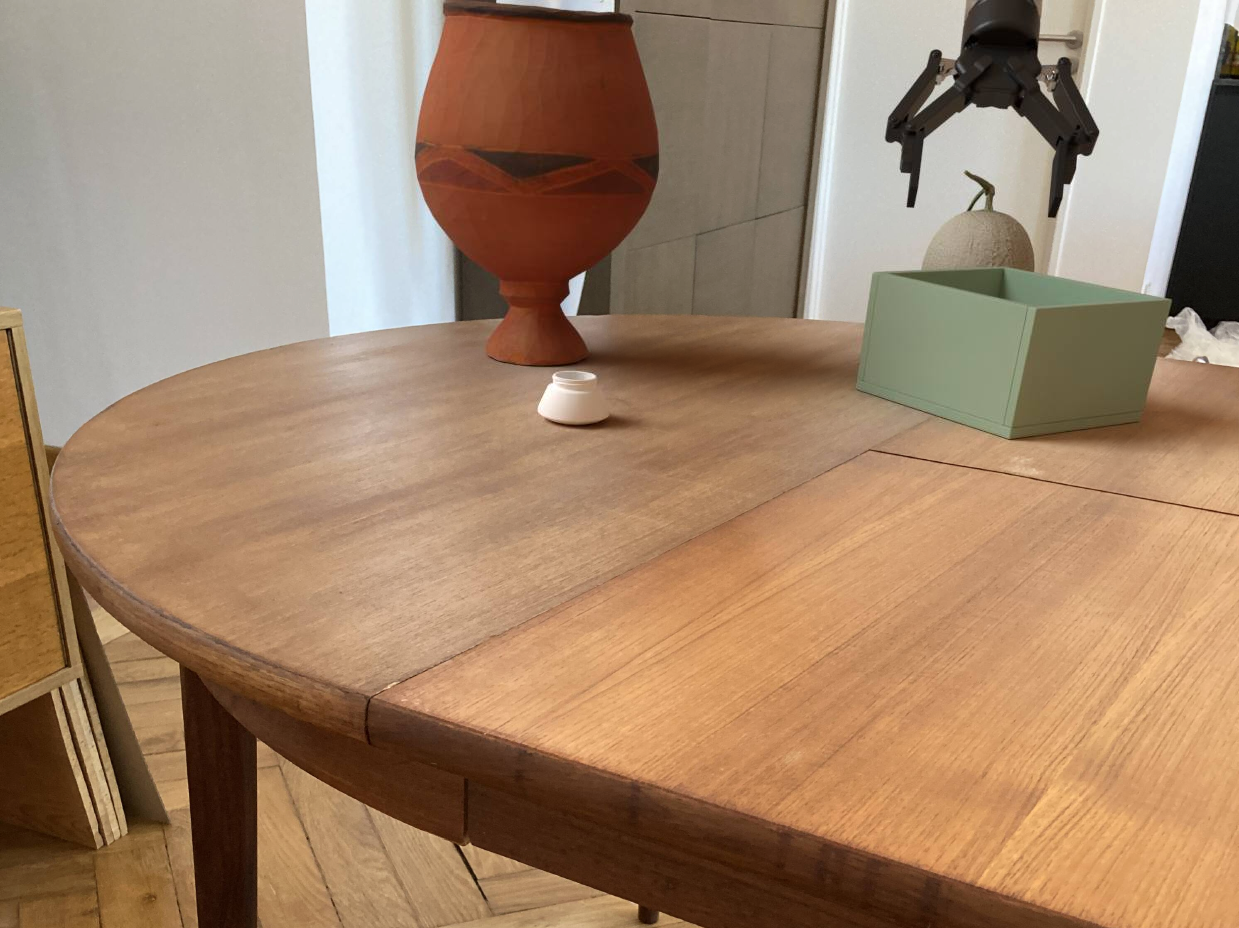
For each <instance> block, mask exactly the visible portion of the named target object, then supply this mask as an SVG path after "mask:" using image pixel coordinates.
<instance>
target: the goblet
mask: <svg viewBox="0 0 1239 928" xmlns="http://www.w3.org/2000/svg"><path fill="white" fill-rule="evenodd" d="M442 14H443V15H444V17H445V19H444V22H443V26H442V30H441V35H440V39H439V42H438V43H439V44H438V47H437V50H436V54H435V56H434V59H433V62H432V64H431V68H430V71H429V73H428V78H427V80H426V84H425V87H424V92H423V93H422V99H421V104H420V109H419V115H418V119H417V126H416V134H415V135H416V136H415V143H414V144H415V145H414V164H415V172H416V179H417V183H418V186H419V188H420V191H421V194H422V197H423V200H424V203H425V204H426V206H427V208H428V210H429V212H430V214H431V216H432V217H433V219H434V220H435V222H436V223H437V224H438V226H439V227H440V228H441V230H442V231H443V232H444V234H445V235H446V236H447V237H448V239H449V240H450V241H451V242H452V243H453V244H454V245H455V247H457V249H459V251H461V253H462V254H464V256H465V257H467V258H468V259H469V260H471V261H472V262H474V263H475V264H476V265H478V266H480V267H481V268H482V269H484V270H485V271H487V272H488V273H490V274H492V275H493V276H495V277H496V278H498V280H499V292H498V293H499V295H500V296H501V297H502V298H503V299H504V300H505V301H506V303H507V304H508V306H509V308H508V311H507V313H506V315H505V317H504V318H503V319H502V321H501V322H500V323H499V324H498V326H497V327H496V328H495V329H494V331H493V332H492V334H491V335H490V337H489V338H488V340H487V342H486V344H485V349H484V350H485V351H484V352H485V354H486V355H487V356H488V357H490V358H492V359H494V360H497V361H500V362H504V363H509V364H514V365H520V366H540V367H544V366H545V367H546V366H547V367H548V366H562V365H563V366H564V365H569V364H575V363H578V362H580V361H582V360H585V359H586V358H588V356H589V350H588V347H587V344H586V342H585V340H584V339H583V337H582V336H581V334H580V333H579V331H578V330H577V328H576V327H575V326H574V325H573V323H572V322H571V321H570V320H569V319H568V317H567V316H566V314H565V312H564V310H563V308H562V306H561V304H562V303H563V302H564V301H565V300H566V299H567V298H568V297H569V296H570V295H571V292H570V281H571V280H573V279H574V278H576V277H578V276H579V275H581V274H583V273H585V272H586V271H589V270H590V269H592V268H593V267H595V266H596V265H597V264H599V263H600V262H602V260H604V259H605V258H606V257H607V256H608V255H610V254H611V253H613V251H615V249H617V248H618V246H619V245H620V244H621V243H622V242H623V241H624V240H625V239H626V238H627V237H628V236H629V235H630V233H631V232H632V231H633V230H634V229H635V227H636V226H637V225H638V223H639V222H640V220H641V219H642V218H643V216H644V215H645V213H646V211H647V209H648V207H649V205H650V203H651V200H652V198H653V194H654V192H655V189H656V187H657V184H658V179H659V173H660V144H659V130H658V126H657V119H656V115H655V110H654V106H653V101H652V96H651V92H650V89H649V86H648V81H647V78H646V76H645V75H646V74H645V71H644V68H643V65H642V61H641V58H640V55H639V51H638V47H637V44H636V40H635V37H634V33H633V30H632V27H633V25H634V21H635V20H634V19H633V17H632V15H631V14H628V13H623V12H621V11H619V12H618V11H617V12H615V11H599V12H598V11H593V10H571V9H561V8H553V7H545V6H540V5H539V6H538V5H526V4H514V3H500V2H494V1H493V2H492V1H483V0H445V1H444V2H443V3H442Z"/></svg>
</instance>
